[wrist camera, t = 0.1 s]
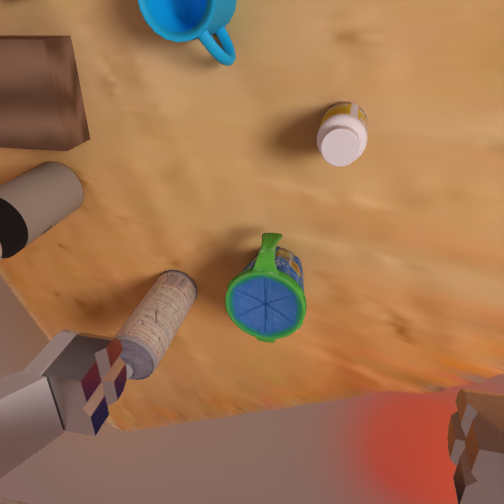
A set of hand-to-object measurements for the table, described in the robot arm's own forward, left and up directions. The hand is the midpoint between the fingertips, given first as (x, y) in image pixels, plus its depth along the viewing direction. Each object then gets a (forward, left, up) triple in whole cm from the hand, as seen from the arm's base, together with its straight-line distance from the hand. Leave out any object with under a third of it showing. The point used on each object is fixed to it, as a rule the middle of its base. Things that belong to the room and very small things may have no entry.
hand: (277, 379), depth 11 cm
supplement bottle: (+5, 0, -48) cm, 48 cm away
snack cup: (+27, -8, -48) cm, 55 cm away
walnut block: (+2, -41, -48) cm, 63 cm away
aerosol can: (+32, -24, -48) cm, 63 cm away
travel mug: (+16, -41, -48) cm, 65 cm away
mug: (-7, -16, -48) cm, 51 cm away
